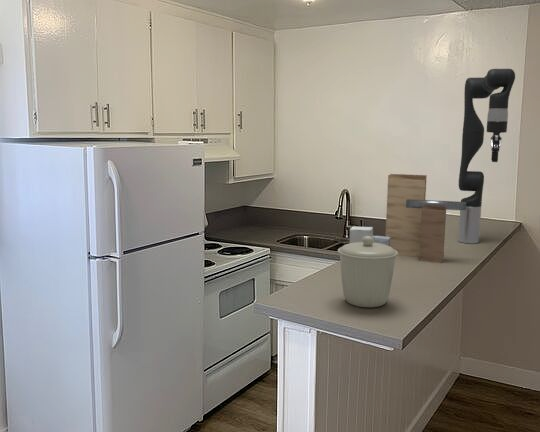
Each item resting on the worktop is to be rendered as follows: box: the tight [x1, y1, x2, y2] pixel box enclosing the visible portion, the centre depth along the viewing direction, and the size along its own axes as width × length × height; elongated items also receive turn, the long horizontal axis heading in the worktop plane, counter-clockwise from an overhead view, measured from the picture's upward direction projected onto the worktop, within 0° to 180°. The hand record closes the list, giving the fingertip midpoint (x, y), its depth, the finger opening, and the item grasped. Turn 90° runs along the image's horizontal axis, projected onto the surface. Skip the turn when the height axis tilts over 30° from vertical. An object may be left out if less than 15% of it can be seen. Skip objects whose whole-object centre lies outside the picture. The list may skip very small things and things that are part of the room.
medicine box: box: [373, 235, 390, 246], centre depth 231 cm, size 8×4×9 cm, turn 65°
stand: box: [385, 173, 427, 257], centre depth 237 cm, size 7×15×34 cm, turn 70°
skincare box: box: [349, 226, 374, 243], centre depth 214 cm, size 8×7×16 cm
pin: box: [406, 199, 466, 211], centre depth 224 cm, size 3×23×3 cm, turn 73°
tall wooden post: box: [418, 205, 447, 264], centre depth 227 cm, size 7×9×22 cm
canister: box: [337, 236, 398, 308], centre depth 172 cm, size 18×18×21 cm
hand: (494, 161), depth 225 cm, fingers open, 8 cm apart
